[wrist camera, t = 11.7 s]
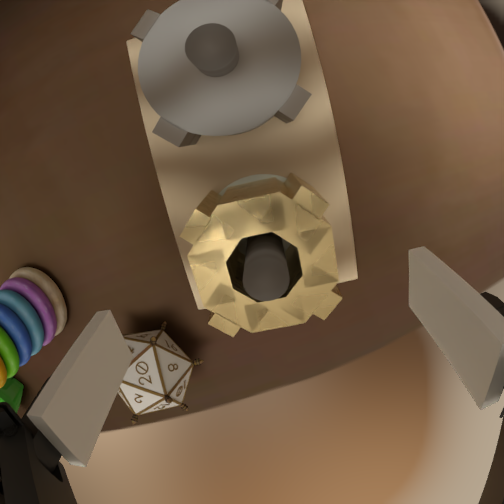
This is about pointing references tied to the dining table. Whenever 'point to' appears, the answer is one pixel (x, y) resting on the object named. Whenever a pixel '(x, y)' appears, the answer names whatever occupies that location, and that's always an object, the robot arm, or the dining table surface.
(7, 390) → the fruit basket
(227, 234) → the brass gear
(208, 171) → the gear board
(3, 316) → the stacking toy
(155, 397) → the game die
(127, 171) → the dining table surface
